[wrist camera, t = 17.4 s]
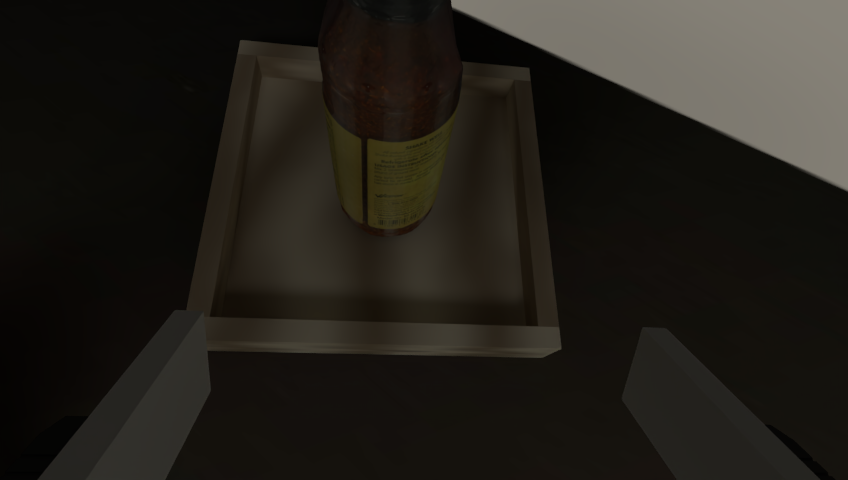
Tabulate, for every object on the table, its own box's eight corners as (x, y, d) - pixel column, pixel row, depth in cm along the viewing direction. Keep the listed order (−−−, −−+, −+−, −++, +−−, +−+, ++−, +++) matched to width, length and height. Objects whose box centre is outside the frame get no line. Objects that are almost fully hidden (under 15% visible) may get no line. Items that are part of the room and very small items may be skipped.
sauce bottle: (447, 181, 32) (568, -165, 14) (408, 258, 29) (492, -41, 11) (360, 140, 32) (365, -249, 14) (313, 214, 30) (247, -147, 12)
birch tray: (516, 95, 37) (529, 68, 34) (541, 357, 29) (561, 348, 26) (249, 72, 34) (240, 40, 32) (198, 350, 27) (180, 339, 24)
